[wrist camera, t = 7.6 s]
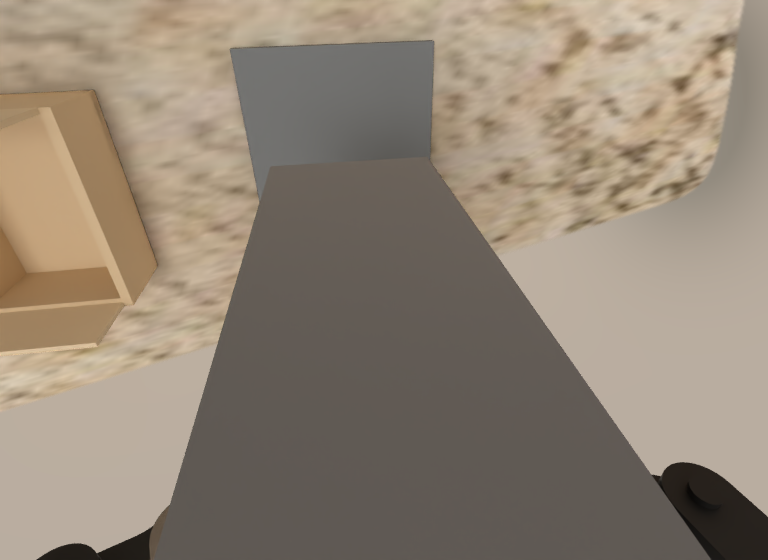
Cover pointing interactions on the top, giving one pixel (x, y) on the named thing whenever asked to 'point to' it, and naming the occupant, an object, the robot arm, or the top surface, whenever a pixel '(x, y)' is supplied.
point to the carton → (64, 225)
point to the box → (399, 397)
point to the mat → (335, 102)
